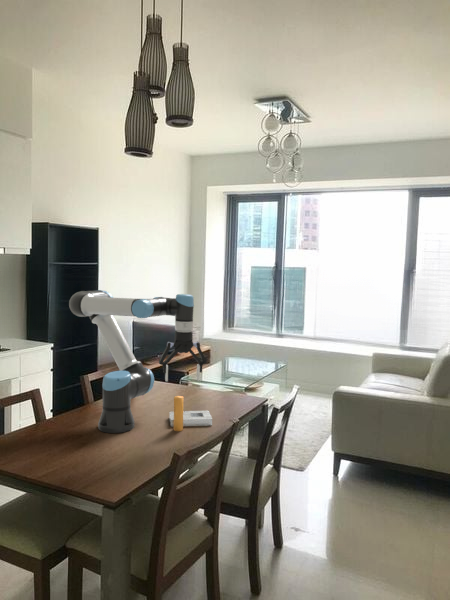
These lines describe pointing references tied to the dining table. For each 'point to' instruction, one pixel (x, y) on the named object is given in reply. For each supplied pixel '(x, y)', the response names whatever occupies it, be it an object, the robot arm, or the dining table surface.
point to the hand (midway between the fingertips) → (182, 380)
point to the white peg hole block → (193, 418)
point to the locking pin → (178, 413)
